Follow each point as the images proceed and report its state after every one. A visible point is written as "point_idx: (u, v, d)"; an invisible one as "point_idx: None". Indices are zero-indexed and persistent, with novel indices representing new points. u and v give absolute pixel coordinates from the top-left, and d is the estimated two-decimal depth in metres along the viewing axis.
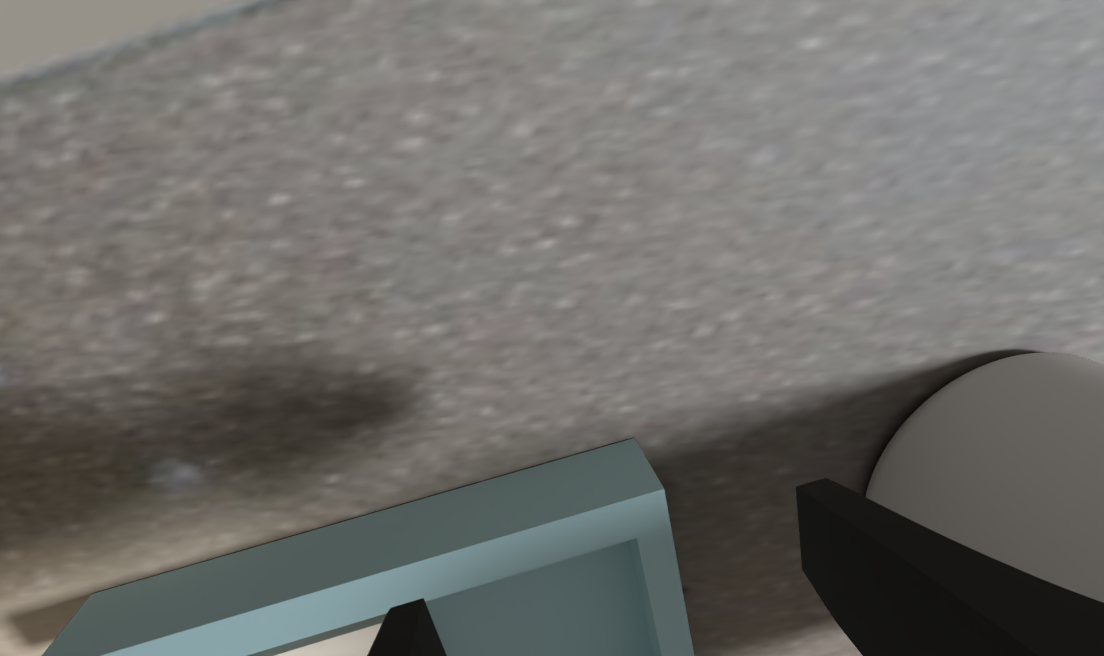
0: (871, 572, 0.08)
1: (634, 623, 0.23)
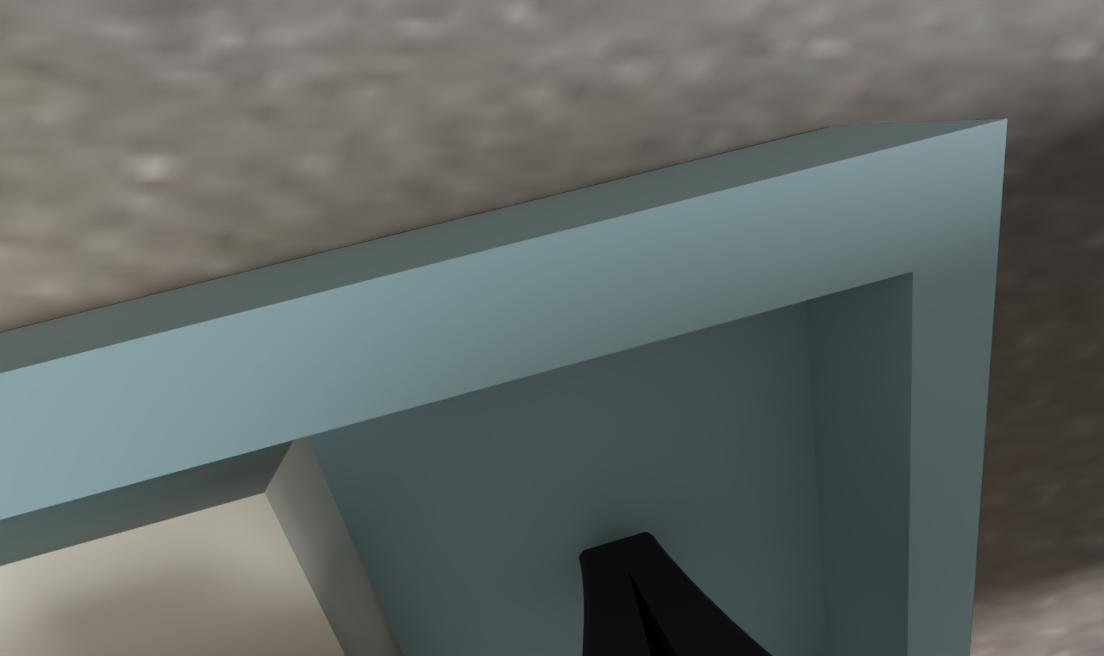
0: (656, 640, 0.08)
1: (800, 547, 0.11)
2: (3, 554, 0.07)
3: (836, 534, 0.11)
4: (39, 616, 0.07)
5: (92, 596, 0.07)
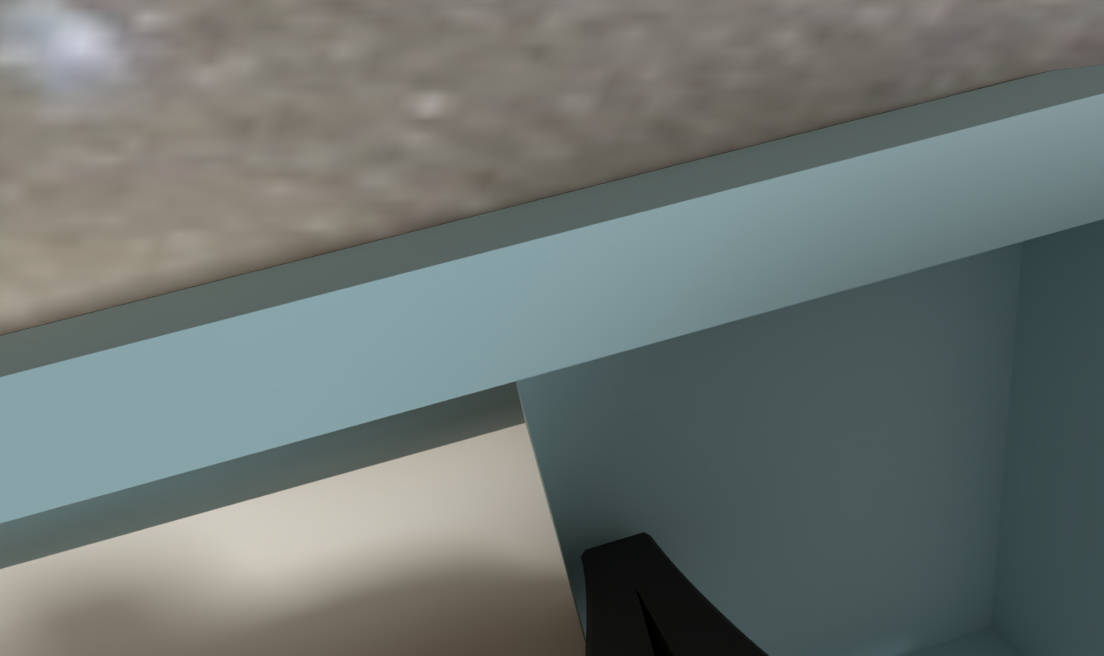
0: (653, 641, 0.08)
1: (983, 491, 0.12)
2: (272, 482, 0.07)
3: (1030, 474, 0.11)
4: (306, 543, 0.07)
5: (356, 524, 0.08)
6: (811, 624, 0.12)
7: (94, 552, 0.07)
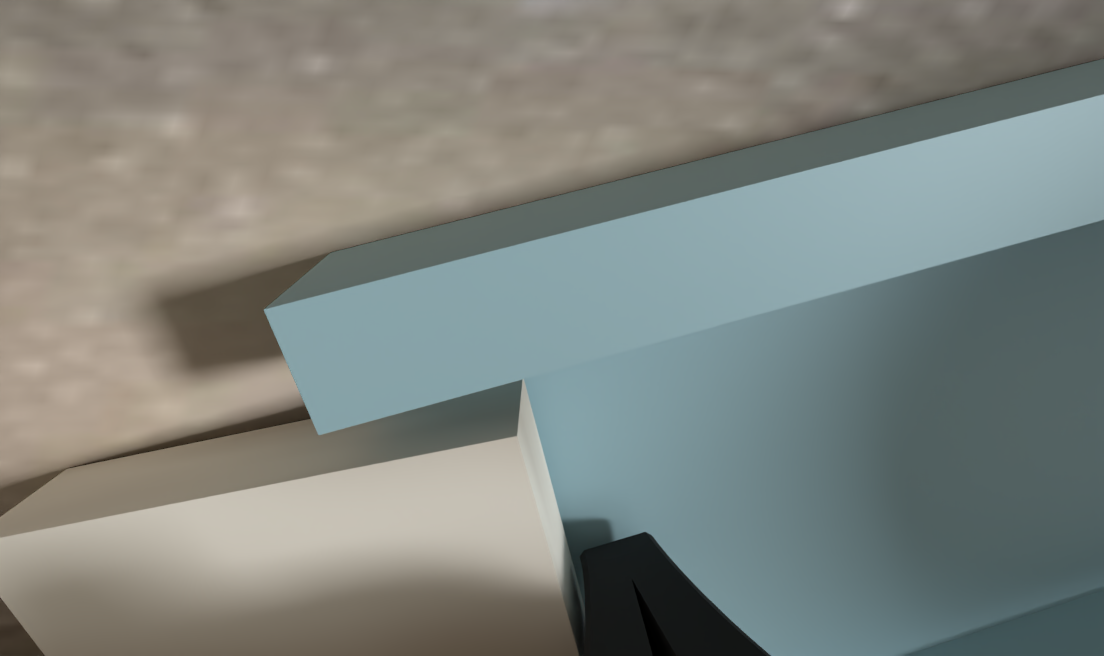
0: (655, 640, 0.08)
1: None
2: (271, 473, 0.08)
3: None
4: (300, 535, 0.08)
5: (347, 521, 0.08)
6: (1088, 535, 0.13)
7: (110, 524, 0.08)
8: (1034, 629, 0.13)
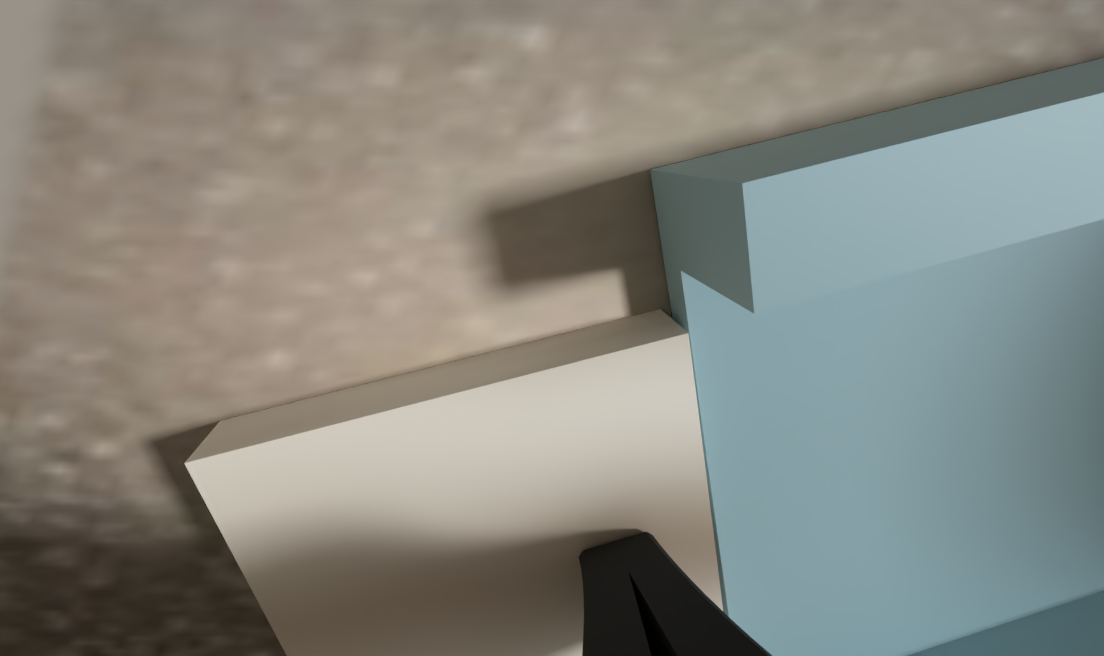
0: (656, 641, 0.08)
1: None
2: (474, 380, 0.09)
3: None
4: (500, 432, 0.09)
5: (542, 418, 0.09)
6: None
7: (333, 432, 0.08)
8: None
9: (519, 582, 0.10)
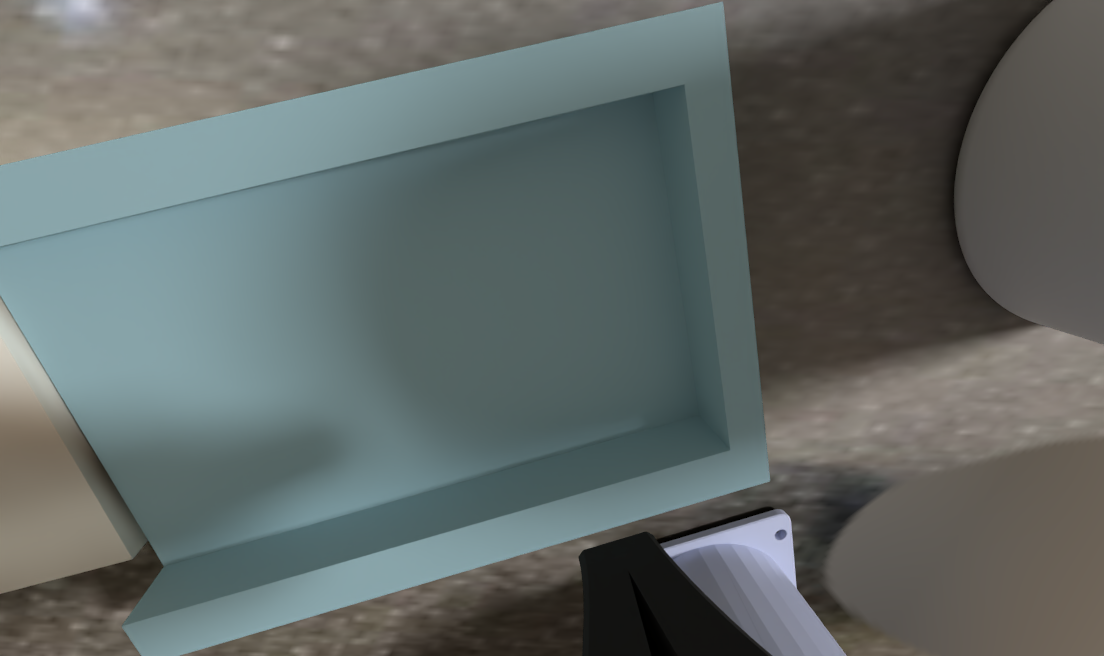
0: (656, 640, 0.08)
1: (670, 307, 0.18)
2: None
3: (687, 289, 0.17)
4: None
5: None
6: (564, 400, 0.18)
7: None
8: (533, 467, 0.19)
9: None
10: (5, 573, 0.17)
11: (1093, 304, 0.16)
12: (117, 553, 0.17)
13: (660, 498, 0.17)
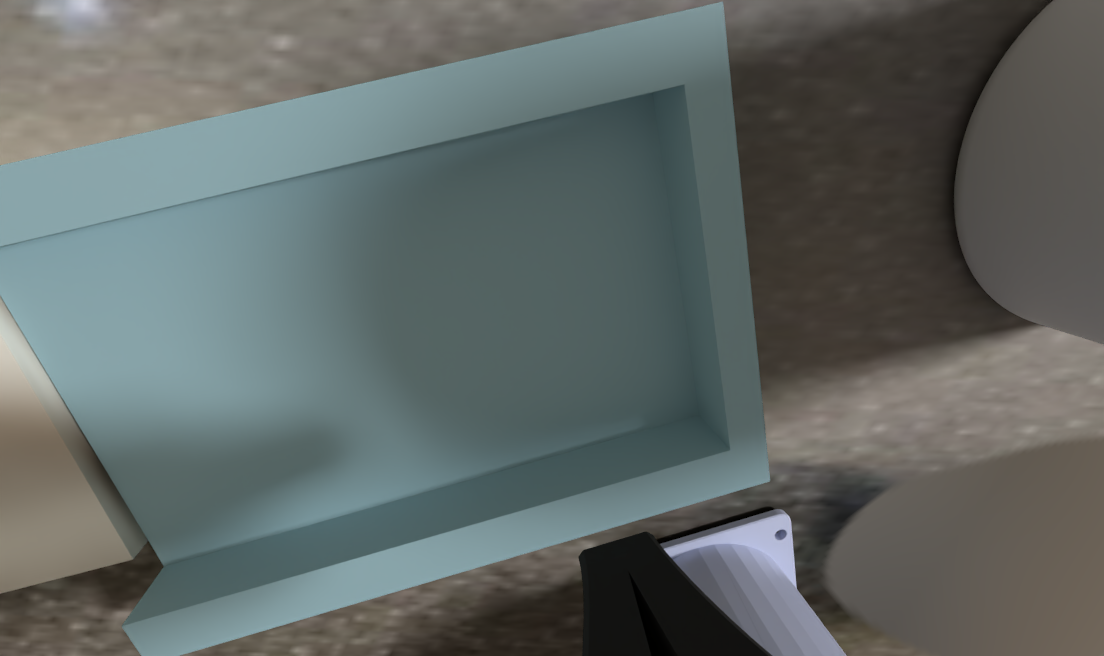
0: (656, 640, 0.08)
1: (670, 307, 0.18)
2: None
3: (687, 289, 0.17)
4: None
5: None
6: (564, 400, 0.18)
7: None
8: (533, 467, 0.19)
9: None
10: (5, 573, 0.17)
11: (1093, 304, 0.16)
12: (118, 553, 0.17)
13: (660, 498, 0.17)
